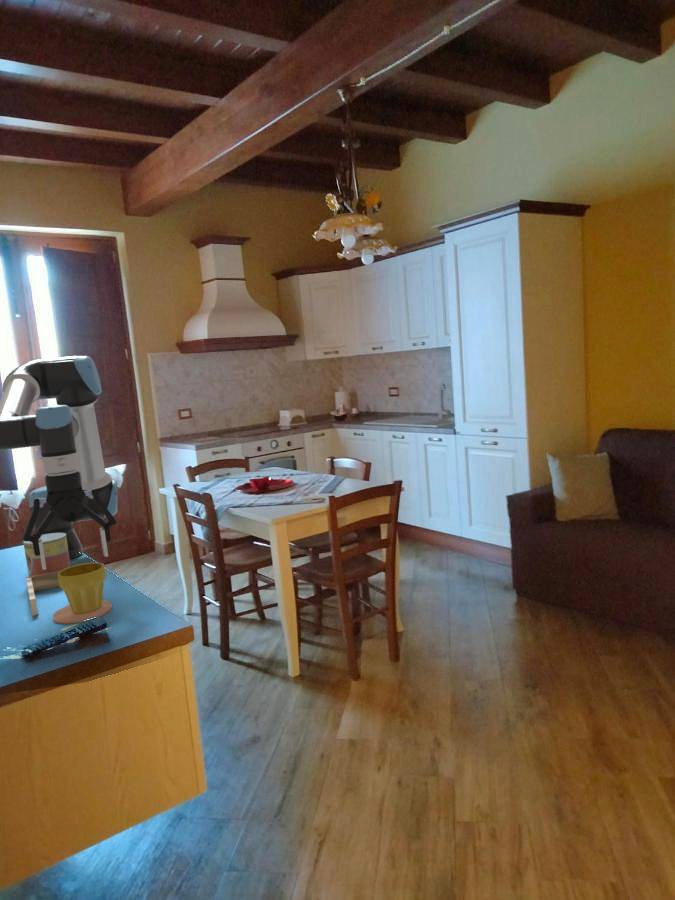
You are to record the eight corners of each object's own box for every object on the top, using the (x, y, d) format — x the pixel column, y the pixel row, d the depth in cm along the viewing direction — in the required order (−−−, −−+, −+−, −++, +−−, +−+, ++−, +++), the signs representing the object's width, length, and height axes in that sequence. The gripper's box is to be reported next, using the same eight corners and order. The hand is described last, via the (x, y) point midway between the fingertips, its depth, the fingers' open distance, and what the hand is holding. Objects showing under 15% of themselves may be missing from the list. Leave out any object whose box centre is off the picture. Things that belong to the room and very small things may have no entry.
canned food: (25, 580, 188) (18, 539, 186) (66, 570, 194) (60, 530, 193) (34, 588, 179) (28, 545, 177) (77, 577, 185) (71, 536, 184)
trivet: (62, 607, 161) (61, 604, 161) (116, 599, 162) (116, 596, 162) (46, 627, 148) (45, 623, 148) (105, 619, 150) (105, 615, 149)
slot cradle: (28, 591, 176) (25, 577, 176) (89, 578, 183) (87, 564, 183) (32, 615, 157) (29, 599, 156) (100, 599, 164) (98, 584, 163)
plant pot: (63, 620, 149) (57, 578, 148) (63, 607, 158) (57, 567, 157) (111, 610, 153) (105, 569, 151) (108, 597, 162) (102, 559, 161)
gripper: (2, 484, 142) (17, 578, 145) (120, 466, 153) (133, 553, 156) (1, 479, 149) (16, 569, 152) (115, 462, 160) (127, 546, 163)
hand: (75, 561), depth 154 cm, fingers open, 13 cm apart
